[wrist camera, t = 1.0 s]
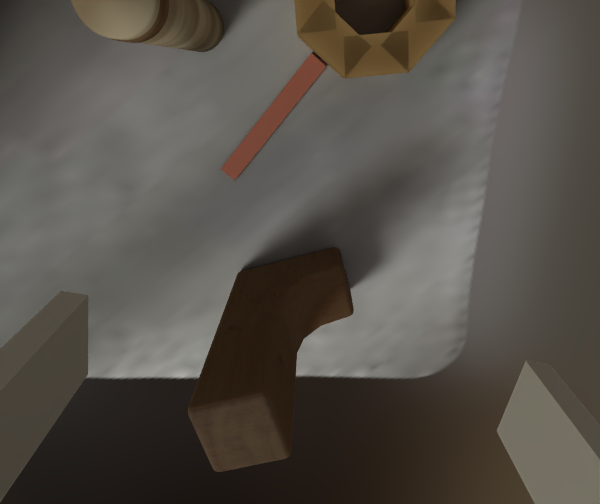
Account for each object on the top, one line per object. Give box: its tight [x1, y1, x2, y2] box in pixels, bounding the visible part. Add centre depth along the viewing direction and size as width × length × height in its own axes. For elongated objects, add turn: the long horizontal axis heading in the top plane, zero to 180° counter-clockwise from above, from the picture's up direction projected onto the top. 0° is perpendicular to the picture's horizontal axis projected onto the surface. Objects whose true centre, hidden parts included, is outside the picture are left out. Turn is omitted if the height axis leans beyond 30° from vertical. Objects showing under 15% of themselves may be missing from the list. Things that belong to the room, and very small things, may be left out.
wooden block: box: [188, 247, 354, 472], centre depth 33 cm, size 9×4×18 cm, turn 106°
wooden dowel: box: [71, 0, 224, 52], centre depth 27 cm, size 4×4×16 cm
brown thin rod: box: [221, 53, 326, 180], centre depth 36 cm, size 11×1×1 cm, turn 140°
